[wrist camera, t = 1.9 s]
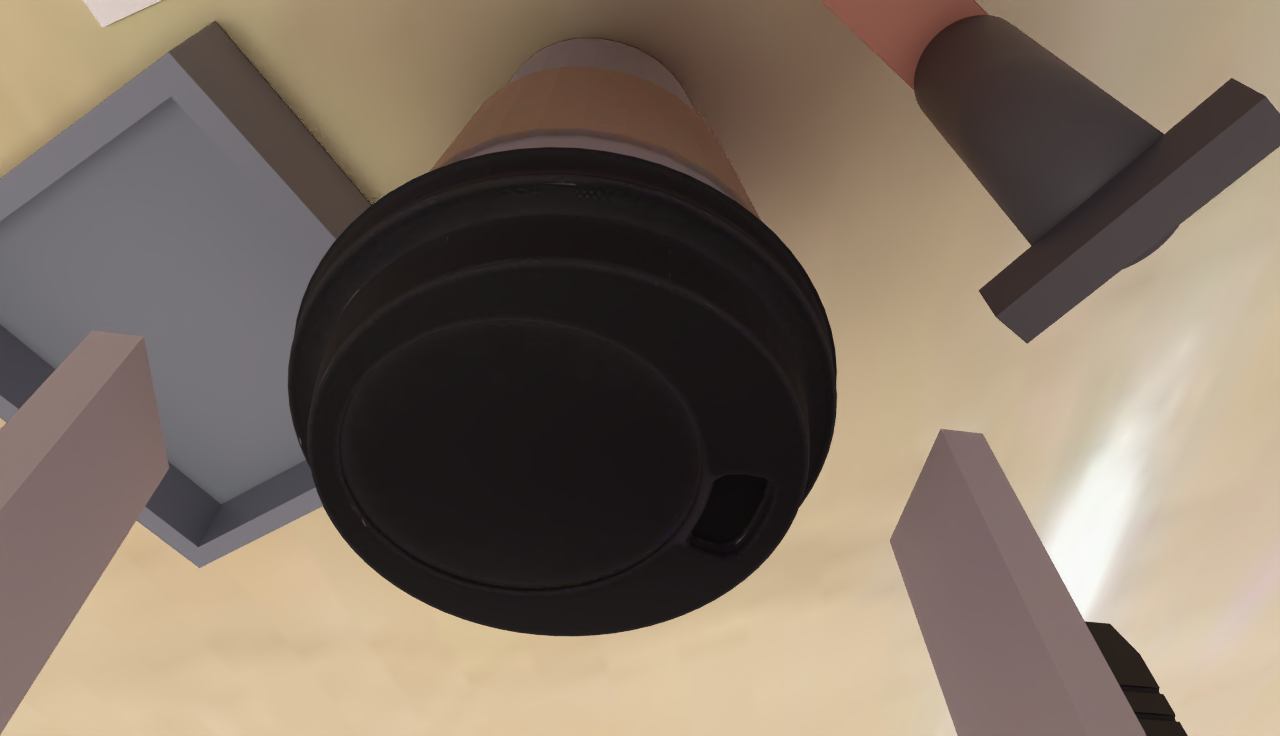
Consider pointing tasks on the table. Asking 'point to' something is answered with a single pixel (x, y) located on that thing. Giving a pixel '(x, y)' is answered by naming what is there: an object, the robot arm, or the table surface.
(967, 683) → the robot arm
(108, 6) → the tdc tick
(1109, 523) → the table surface
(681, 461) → the coffee cup
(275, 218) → the tray
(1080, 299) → the crank
